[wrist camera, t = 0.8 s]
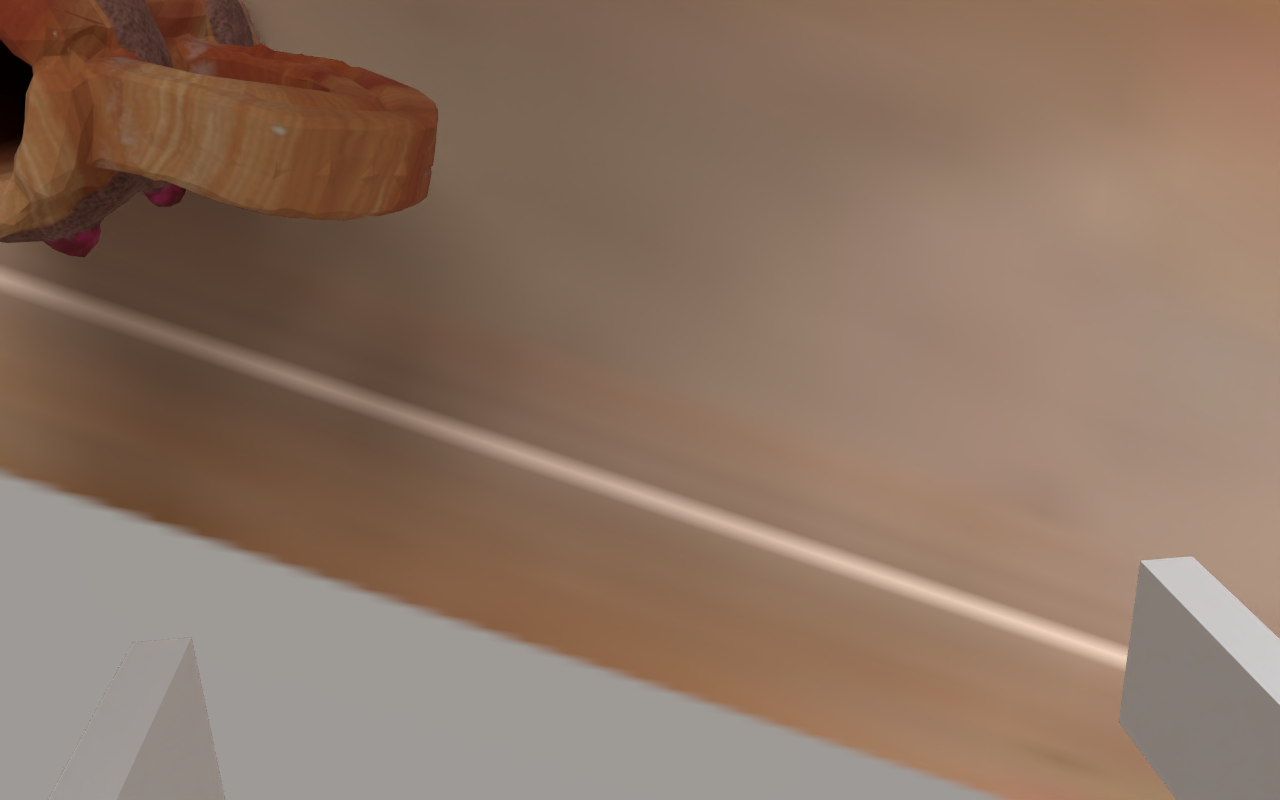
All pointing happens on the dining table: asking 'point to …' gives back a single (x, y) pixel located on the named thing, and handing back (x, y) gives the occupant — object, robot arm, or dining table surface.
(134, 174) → the mug
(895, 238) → the dining table surface
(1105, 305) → the dining table surface
